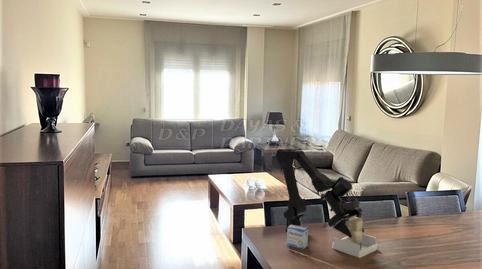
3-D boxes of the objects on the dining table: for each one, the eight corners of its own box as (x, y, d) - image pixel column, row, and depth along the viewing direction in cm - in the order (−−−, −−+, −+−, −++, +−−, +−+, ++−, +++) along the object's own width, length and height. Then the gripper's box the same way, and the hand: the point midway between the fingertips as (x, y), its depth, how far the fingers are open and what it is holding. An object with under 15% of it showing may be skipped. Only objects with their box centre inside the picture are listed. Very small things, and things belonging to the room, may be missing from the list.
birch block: (347, 248, 173) (349, 218, 171) (353, 246, 176) (354, 216, 174) (356, 251, 170) (357, 220, 169) (361, 249, 173) (362, 218, 171)
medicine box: (286, 246, 176) (287, 226, 175) (290, 243, 180) (290, 224, 179) (304, 250, 172) (304, 230, 171) (307, 246, 176) (308, 227, 175)
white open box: (332, 249, 173) (332, 236, 173) (349, 242, 182) (350, 229, 181) (360, 259, 163) (360, 245, 163) (377, 250, 172) (377, 238, 172)
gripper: (334, 196, 167) (357, 229, 160) (359, 189, 180) (382, 219, 173) (318, 210, 174) (339, 243, 167) (343, 203, 186) (364, 233, 179)
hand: (357, 234), depth 171 cm, fingers open, 9 cm apart
